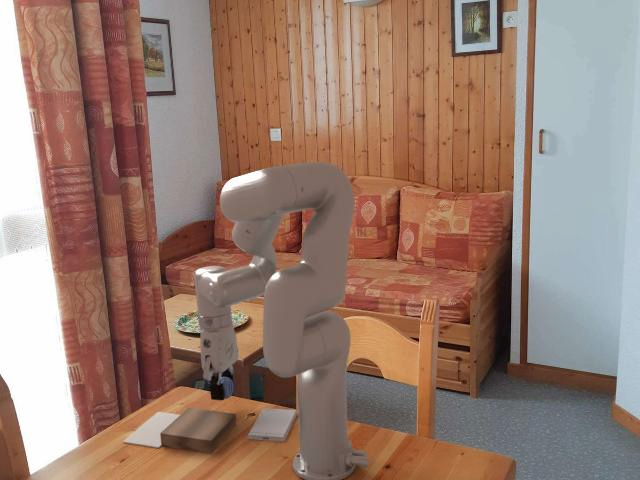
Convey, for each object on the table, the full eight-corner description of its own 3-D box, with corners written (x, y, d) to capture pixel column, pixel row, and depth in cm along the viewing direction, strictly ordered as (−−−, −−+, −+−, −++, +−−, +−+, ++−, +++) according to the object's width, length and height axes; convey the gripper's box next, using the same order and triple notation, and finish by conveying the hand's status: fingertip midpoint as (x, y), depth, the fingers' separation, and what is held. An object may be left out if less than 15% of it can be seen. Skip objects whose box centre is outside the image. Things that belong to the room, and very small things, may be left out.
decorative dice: (218, 392, 153) (216, 376, 152) (234, 392, 152) (232, 376, 151) (211, 399, 149) (210, 383, 148) (227, 400, 148) (226, 383, 147)
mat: (191, 417, 149) (191, 416, 149) (158, 448, 136) (158, 447, 136) (158, 412, 152) (157, 411, 152) (122, 442, 139) (122, 441, 139)
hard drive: (262, 408, 150) (247, 434, 138) (296, 409, 149) (284, 436, 137) (263, 414, 151) (247, 441, 139) (297, 416, 149) (284, 443, 137)
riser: (236, 426, 144) (235, 413, 144) (211, 453, 133) (210, 440, 132) (189, 419, 148) (188, 407, 147) (161, 446, 137) (160, 433, 136)
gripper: (212, 332, 138) (220, 412, 141) (245, 310, 153) (252, 381, 157) (182, 331, 140) (190, 409, 143) (217, 309, 156) (224, 379, 159)
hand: (222, 394), depth 150 cm, fingers closed on decorative dice, 4 cm apart
